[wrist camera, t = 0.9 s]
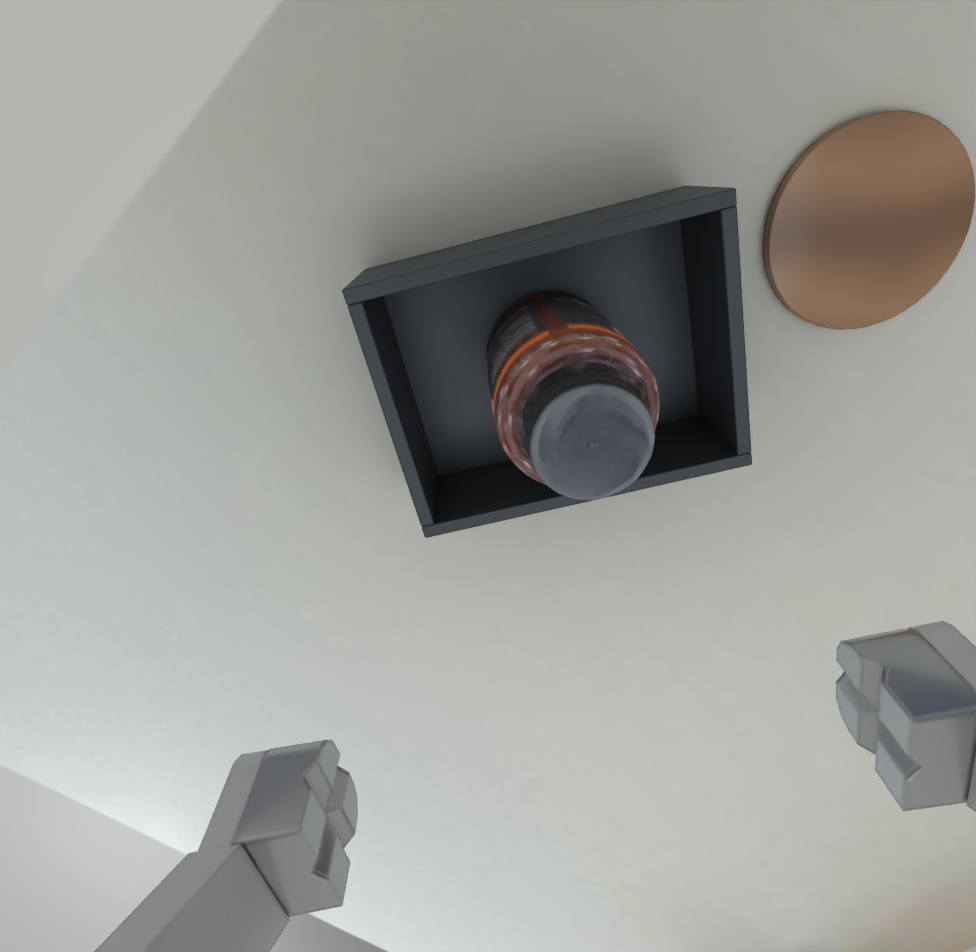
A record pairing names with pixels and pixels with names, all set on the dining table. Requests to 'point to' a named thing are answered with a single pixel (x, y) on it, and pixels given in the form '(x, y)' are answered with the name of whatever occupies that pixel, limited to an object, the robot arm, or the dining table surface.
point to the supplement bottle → (570, 396)
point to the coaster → (869, 219)
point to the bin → (598, 280)
